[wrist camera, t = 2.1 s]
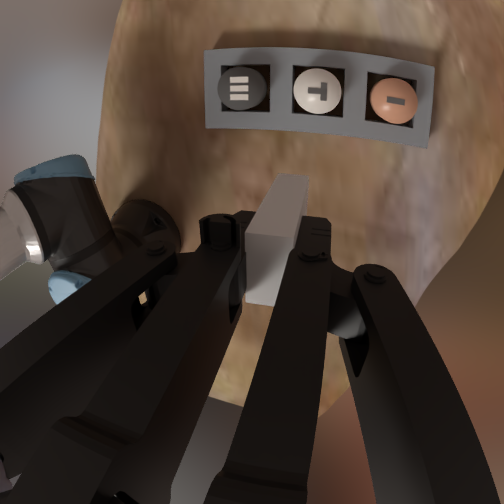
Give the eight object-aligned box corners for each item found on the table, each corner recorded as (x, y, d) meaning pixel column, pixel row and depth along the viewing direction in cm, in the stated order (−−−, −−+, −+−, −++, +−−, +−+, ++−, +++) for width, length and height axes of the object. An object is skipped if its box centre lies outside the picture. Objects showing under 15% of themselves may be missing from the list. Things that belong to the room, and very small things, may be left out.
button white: (295, 109, 40) (292, 112, 37) (296, 68, 37) (293, 67, 34) (339, 113, 39) (340, 116, 36) (341, 71, 36) (342, 70, 33)
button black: (225, 108, 42) (217, 110, 39) (225, 68, 39) (216, 67, 36) (267, 108, 41) (261, 110, 38) (267, 67, 38) (262, 66, 35)
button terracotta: (368, 117, 38) (371, 119, 35) (370, 75, 35) (374, 74, 32) (409, 123, 37) (415, 127, 34) (412, 82, 34) (419, 82, 31)
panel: (212, 125, 46) (205, 128, 44) (211, 51, 40) (203, 50, 38) (421, 144, 40) (427, 148, 38) (428, 67, 34) (434, 66, 31)
